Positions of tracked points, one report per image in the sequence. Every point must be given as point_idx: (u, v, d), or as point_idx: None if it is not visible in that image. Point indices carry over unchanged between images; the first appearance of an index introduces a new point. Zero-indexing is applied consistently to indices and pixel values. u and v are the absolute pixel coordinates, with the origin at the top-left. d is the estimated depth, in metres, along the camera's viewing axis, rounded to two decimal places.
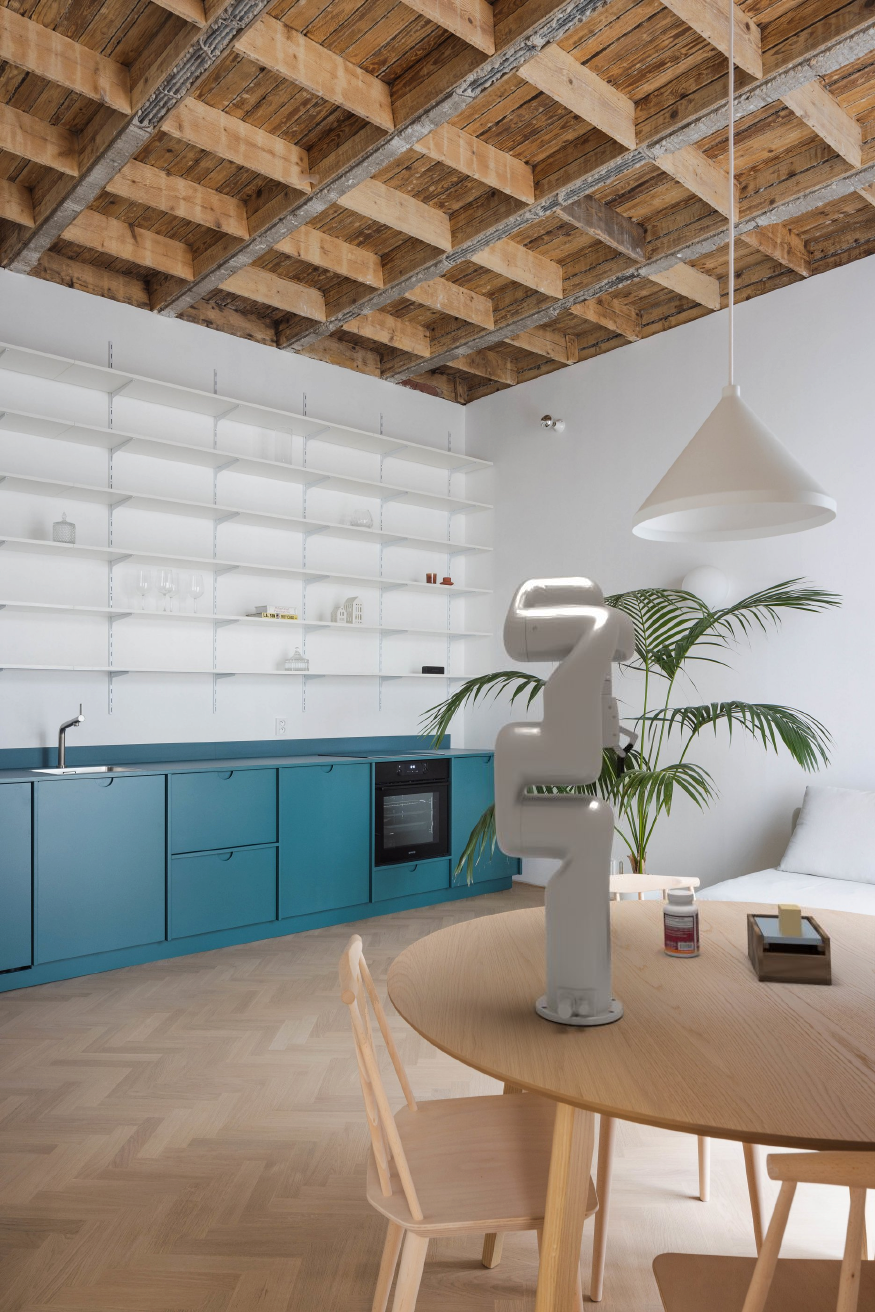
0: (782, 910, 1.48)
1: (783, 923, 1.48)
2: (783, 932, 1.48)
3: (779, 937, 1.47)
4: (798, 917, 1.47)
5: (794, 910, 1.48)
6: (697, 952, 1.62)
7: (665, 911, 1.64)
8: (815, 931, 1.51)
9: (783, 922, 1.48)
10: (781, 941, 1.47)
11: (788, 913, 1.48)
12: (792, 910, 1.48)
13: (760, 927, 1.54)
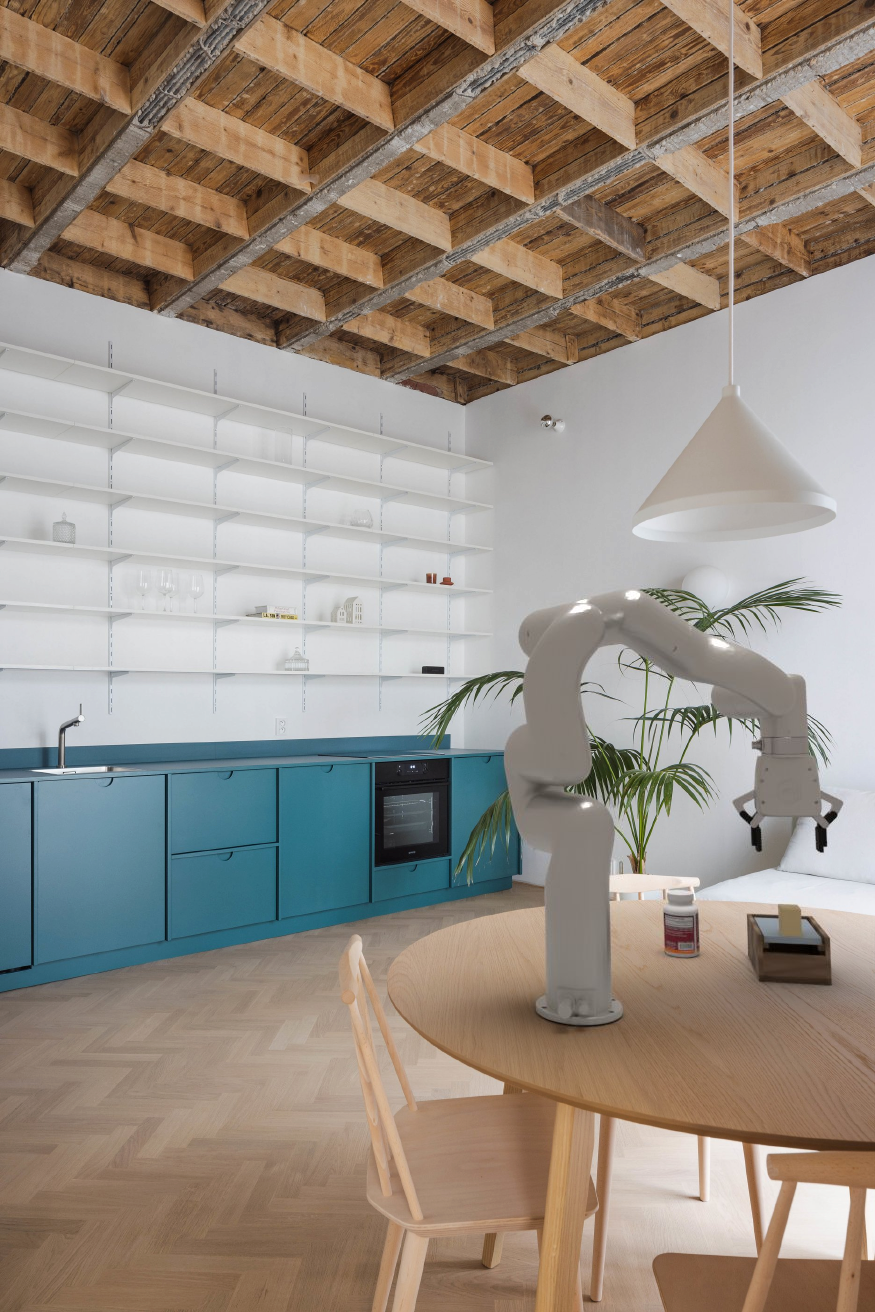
0: (782, 910, 1.48)
1: (783, 923, 1.48)
2: (783, 932, 1.48)
3: (779, 937, 1.47)
4: (798, 917, 1.47)
5: (794, 910, 1.48)
6: (697, 952, 1.62)
7: (665, 911, 1.64)
8: (815, 931, 1.51)
9: (783, 922, 1.48)
10: (781, 941, 1.47)
11: (788, 913, 1.48)
12: (792, 910, 1.48)
13: (760, 927, 1.54)
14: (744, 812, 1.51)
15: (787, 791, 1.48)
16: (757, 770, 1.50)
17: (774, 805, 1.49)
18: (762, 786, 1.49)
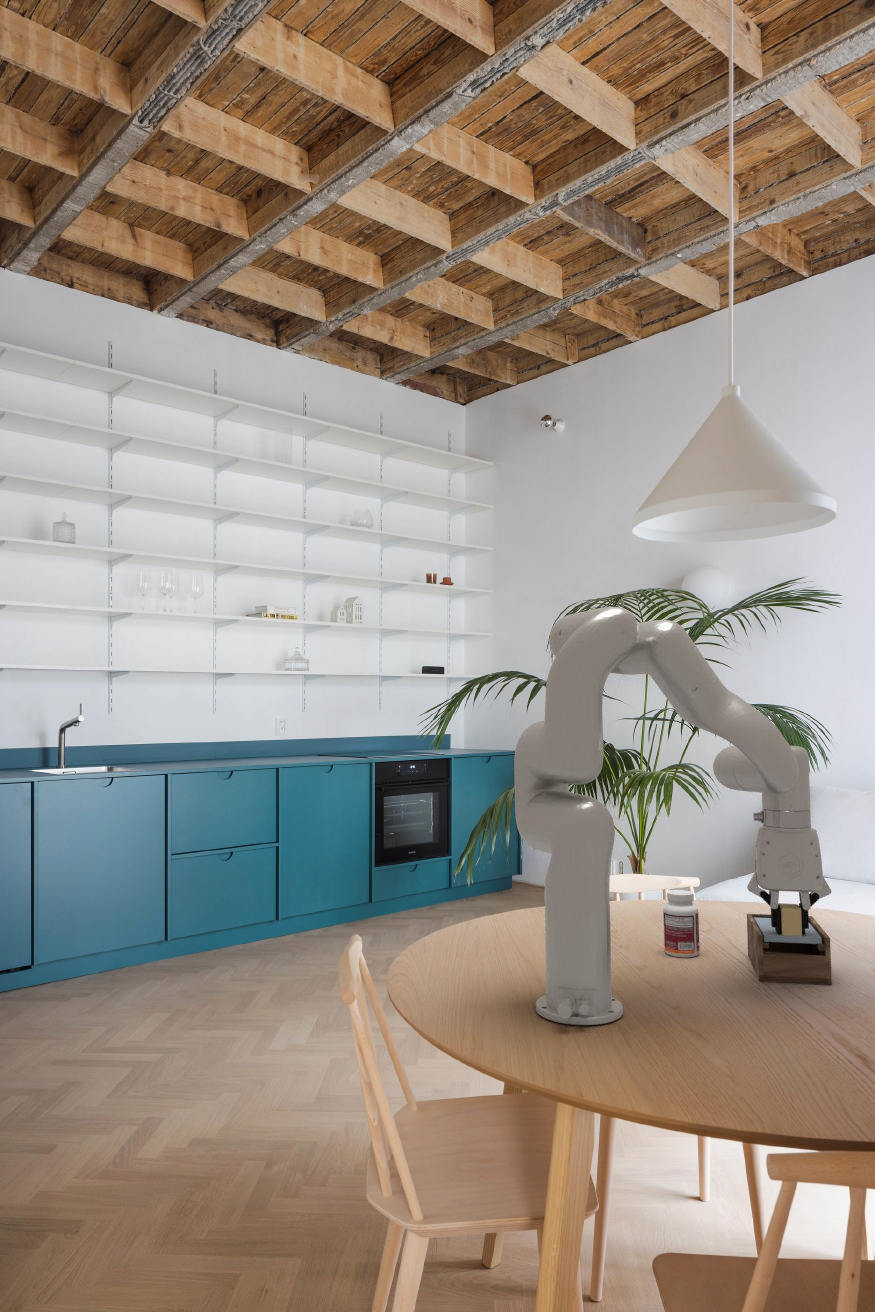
0: (782, 909, 1.48)
1: (783, 922, 1.48)
2: (783, 931, 1.48)
3: (779, 936, 1.47)
4: (798, 917, 1.47)
5: (794, 909, 1.47)
6: (697, 952, 1.62)
7: (665, 911, 1.64)
8: (814, 930, 1.51)
9: (783, 921, 1.48)
10: (781, 940, 1.47)
11: (788, 913, 1.48)
12: (792, 909, 1.48)
13: (760, 927, 1.54)
14: (764, 893, 1.50)
15: (789, 865, 1.47)
16: (759, 843, 1.50)
17: (775, 879, 1.48)
18: (763, 859, 1.48)
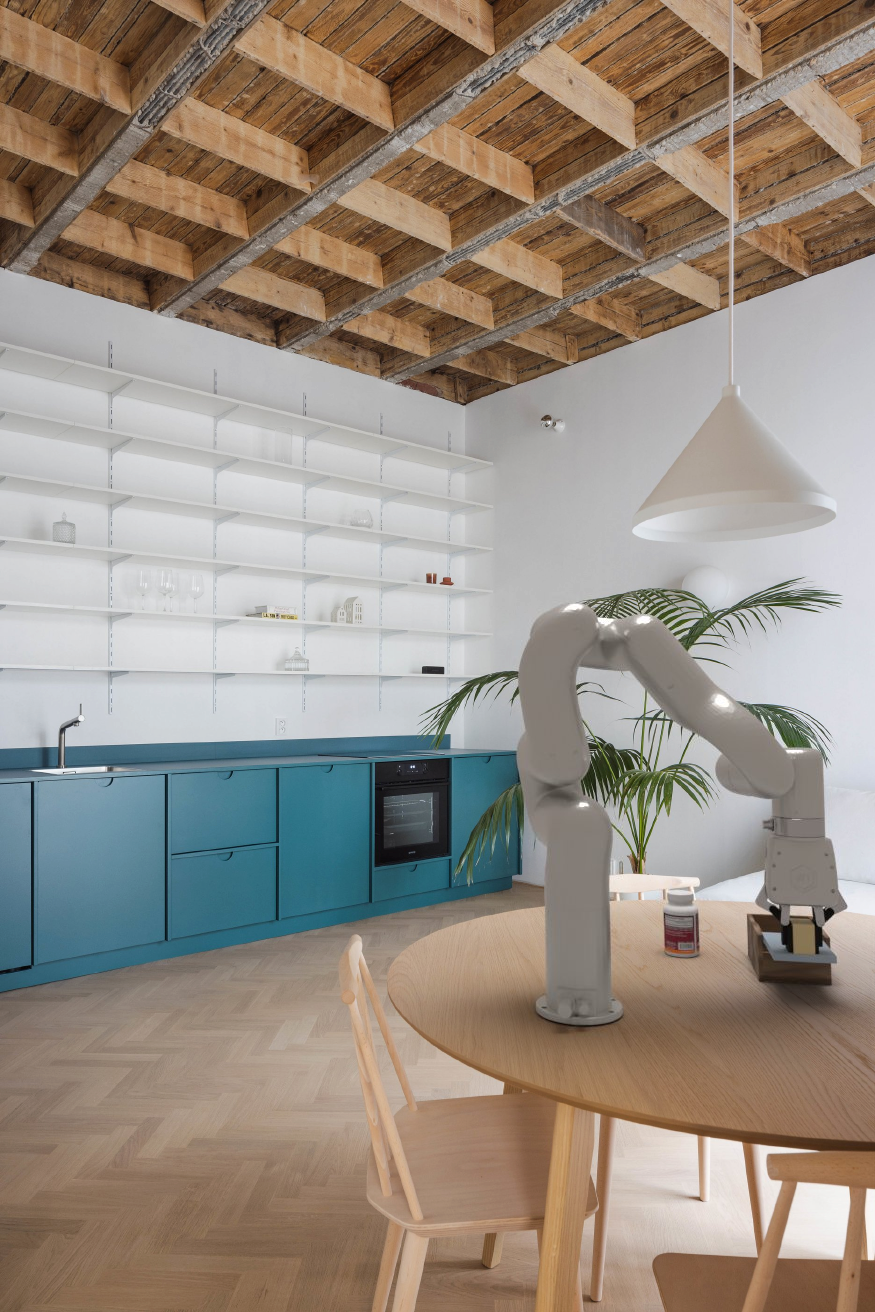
0: (794, 925, 1.36)
1: (795, 940, 1.36)
2: (795, 949, 1.35)
3: (790, 955, 1.35)
4: (811, 934, 1.35)
5: (807, 925, 1.35)
6: (697, 952, 1.62)
7: (665, 911, 1.64)
8: (829, 948, 1.39)
9: (795, 938, 1.36)
10: (792, 959, 1.35)
11: (800, 929, 1.35)
12: (805, 925, 1.35)
13: (769, 943, 1.42)
14: (774, 907, 1.38)
15: (802, 877, 1.35)
16: (768, 853, 1.37)
17: (787, 893, 1.36)
18: (774, 871, 1.36)
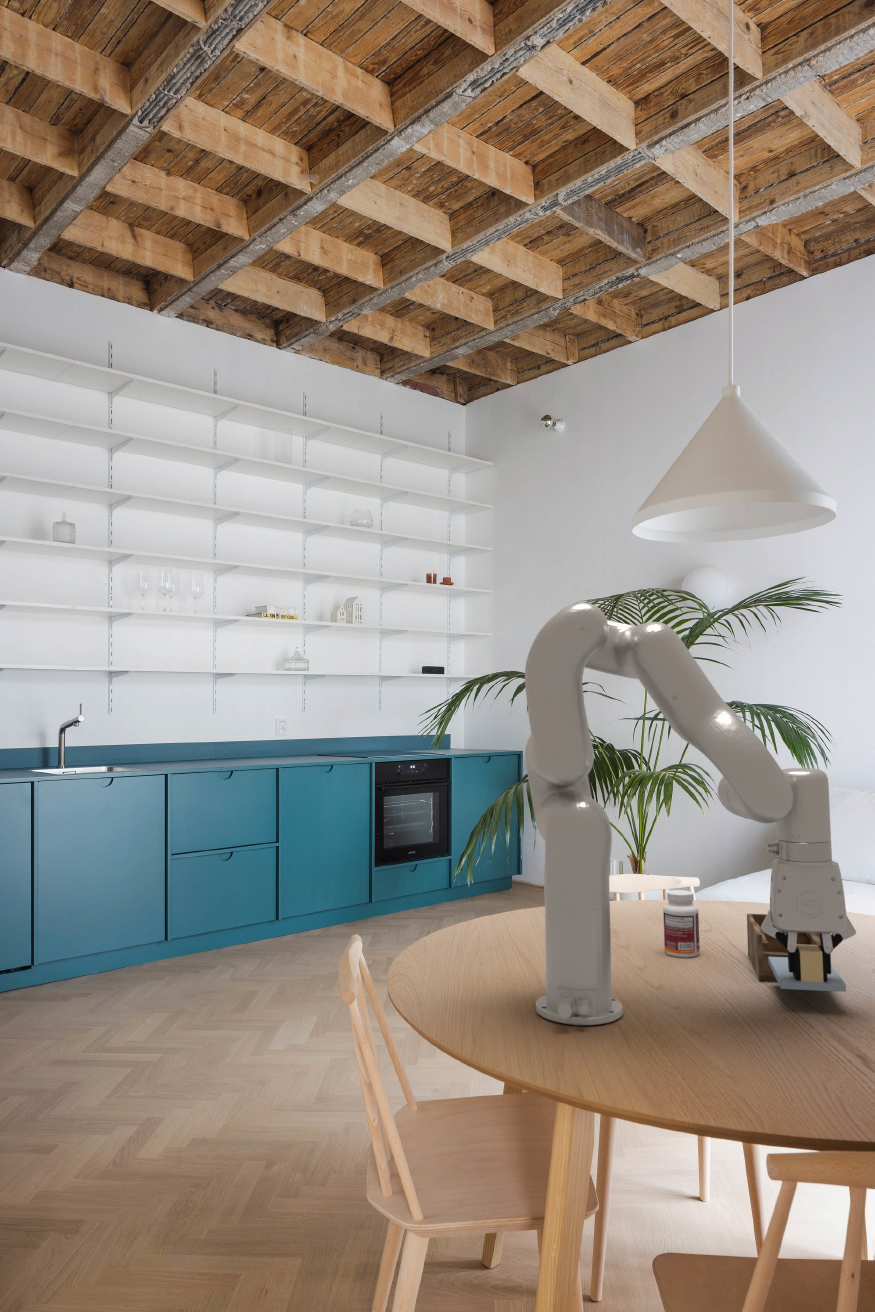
0: (801, 952, 1.32)
1: (802, 967, 1.32)
2: (802, 977, 1.32)
3: (797, 983, 1.31)
4: (819, 961, 1.31)
5: (814, 952, 1.31)
6: (697, 952, 1.62)
7: (665, 911, 1.64)
8: (838, 975, 1.35)
9: (802, 966, 1.32)
10: (800, 987, 1.31)
11: (807, 956, 1.32)
12: (812, 952, 1.31)
13: (776, 970, 1.38)
14: (780, 934, 1.34)
15: (808, 903, 1.31)
16: (773, 878, 1.34)
17: (793, 919, 1.32)
18: (779, 897, 1.32)
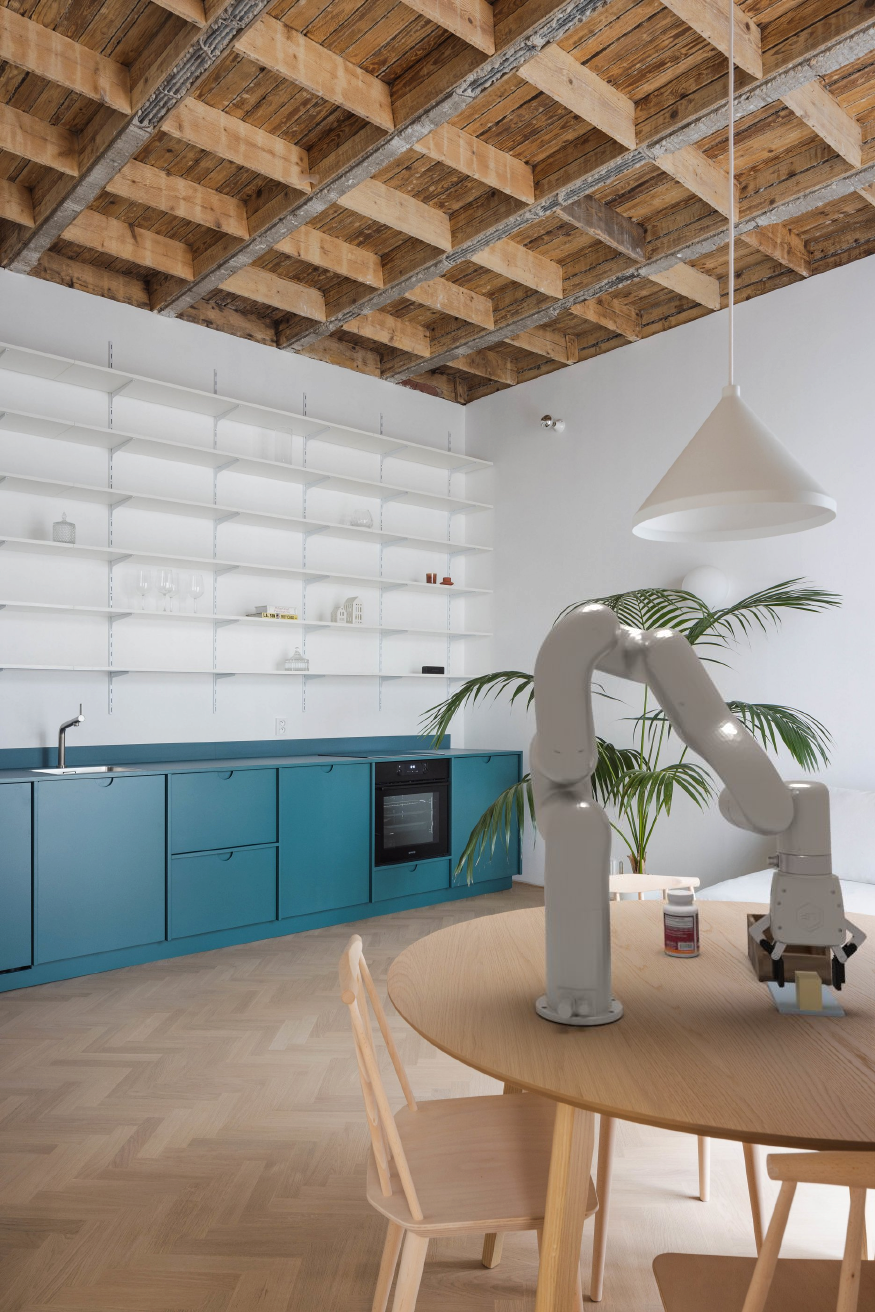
0: (800, 980, 1.31)
1: (801, 995, 1.31)
2: (801, 1005, 1.31)
3: (796, 1011, 1.31)
4: (818, 989, 1.31)
5: (814, 980, 1.31)
6: (697, 952, 1.62)
7: (665, 911, 1.64)
8: (837, 1002, 1.34)
9: (801, 994, 1.31)
10: None
11: (807, 984, 1.31)
12: (811, 980, 1.31)
13: (775, 996, 1.37)
14: (765, 941, 1.34)
15: (808, 916, 1.31)
16: (773, 890, 1.33)
17: (792, 932, 1.32)
18: (779, 909, 1.32)
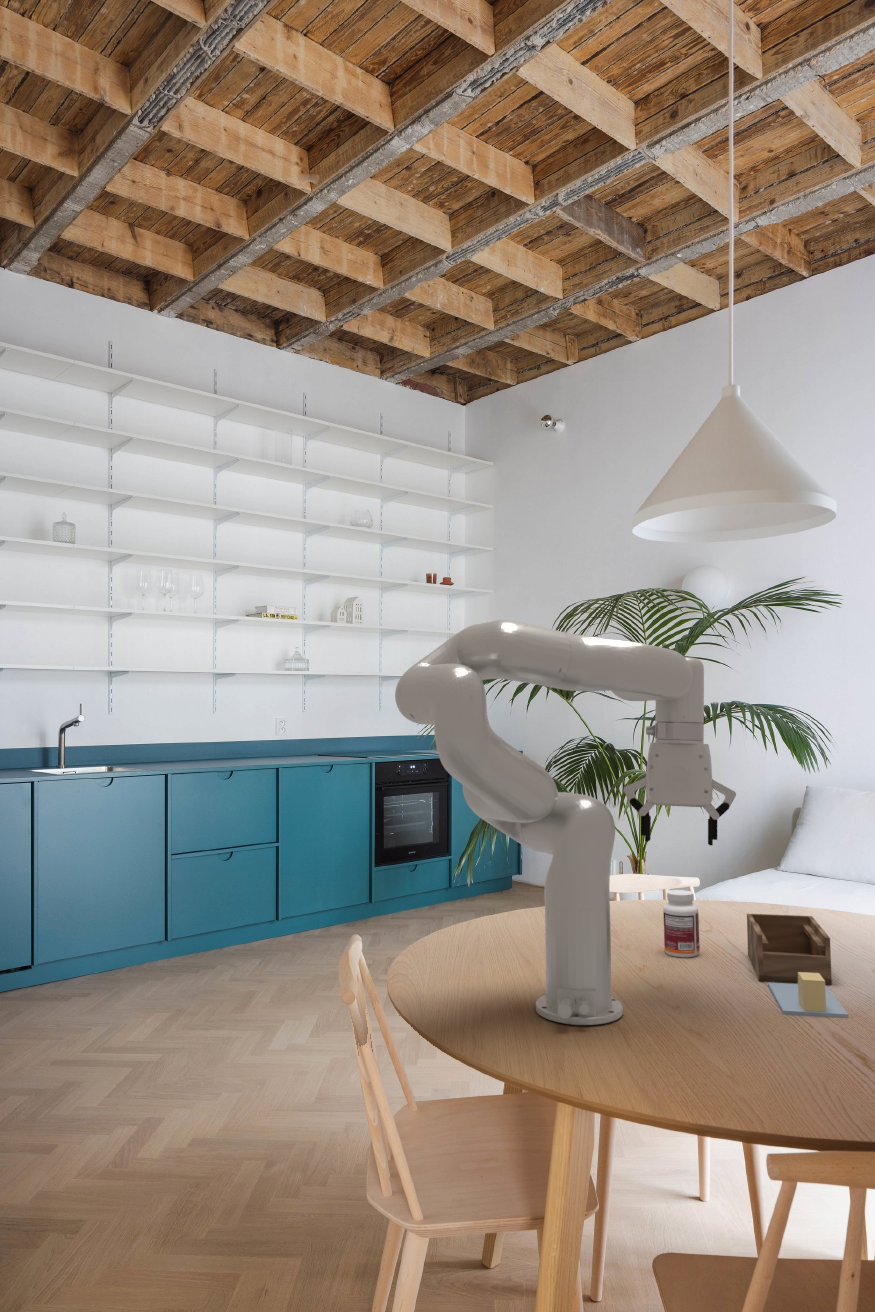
0: (804, 981, 1.31)
1: (805, 996, 1.31)
2: (805, 1006, 1.31)
3: (800, 1012, 1.30)
4: (822, 990, 1.30)
5: (817, 981, 1.30)
6: (697, 952, 1.62)
7: (665, 911, 1.64)
8: (839, 1003, 1.34)
9: (805, 995, 1.31)
10: None
11: (810, 985, 1.31)
12: (815, 981, 1.30)
13: (777, 997, 1.37)
14: (634, 799, 1.45)
15: (677, 778, 1.42)
16: (648, 756, 1.44)
17: (663, 793, 1.42)
18: (652, 772, 1.43)
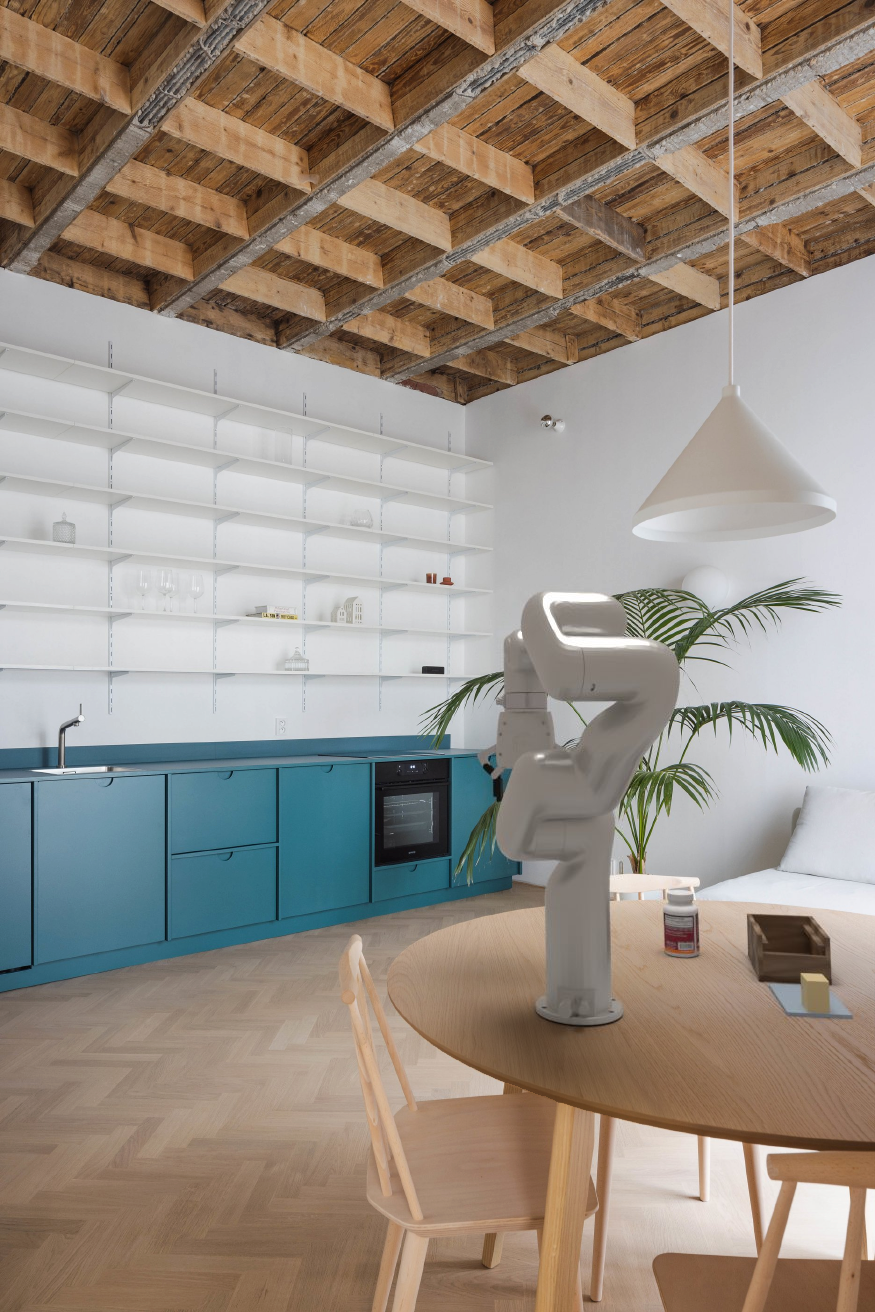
0: (807, 982, 1.30)
1: (809, 997, 1.30)
2: (809, 1007, 1.30)
3: (804, 1014, 1.30)
4: (825, 991, 1.30)
5: (821, 982, 1.30)
6: (697, 952, 1.62)
7: (665, 911, 1.64)
8: (842, 1004, 1.33)
9: (809, 996, 1.30)
10: None
11: (814, 986, 1.30)
12: (819, 982, 1.30)
13: (779, 999, 1.36)
14: (486, 764, 1.59)
15: (523, 743, 1.56)
16: (498, 724, 1.58)
17: (510, 757, 1.56)
18: (500, 739, 1.57)
